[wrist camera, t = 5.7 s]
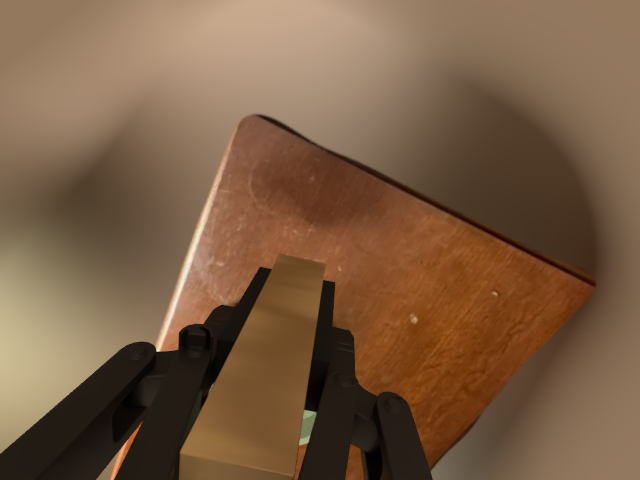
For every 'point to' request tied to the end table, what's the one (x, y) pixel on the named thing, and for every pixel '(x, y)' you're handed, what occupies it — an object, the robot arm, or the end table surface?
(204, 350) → the robot arm
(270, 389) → the stick
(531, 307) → the end table surface
